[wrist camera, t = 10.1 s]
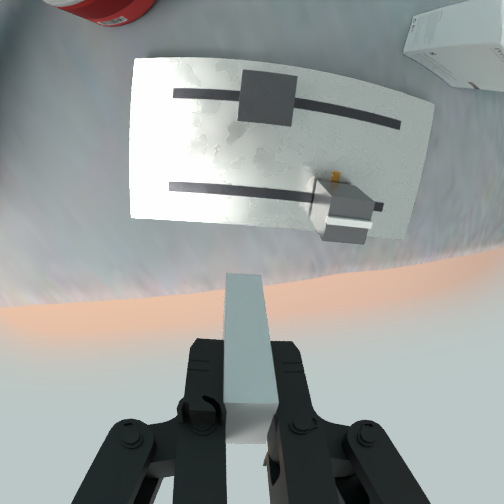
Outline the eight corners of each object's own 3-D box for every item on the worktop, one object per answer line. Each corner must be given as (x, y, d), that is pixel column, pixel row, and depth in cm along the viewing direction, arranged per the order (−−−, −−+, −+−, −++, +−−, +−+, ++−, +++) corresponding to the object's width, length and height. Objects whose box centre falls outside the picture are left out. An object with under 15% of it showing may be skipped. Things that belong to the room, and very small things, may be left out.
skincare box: (400, 53, 24) (495, 43, 11) (412, 13, 22) (501, -11, 9) (454, 89, 26) (549, 105, 13) (464, 50, 23) (555, 52, 10)
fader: (309, 218, 30) (323, 242, 25) (316, 179, 28) (332, 197, 23) (347, 222, 30) (366, 246, 26) (355, 185, 28) (377, 203, 24)
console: (138, 209, 32) (113, 240, 25) (142, 61, 24) (113, 51, 17) (394, 231, 34) (425, 263, 28) (422, 102, 27) (465, 109, 20)
